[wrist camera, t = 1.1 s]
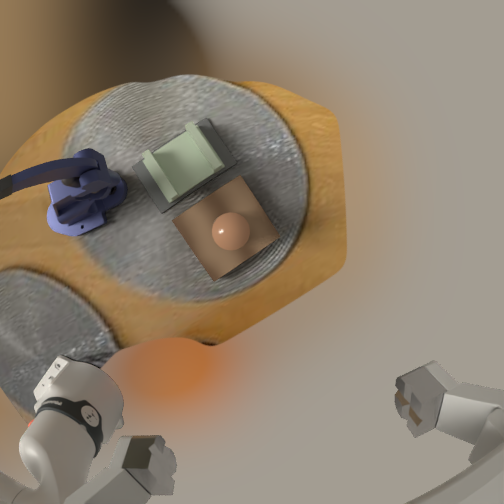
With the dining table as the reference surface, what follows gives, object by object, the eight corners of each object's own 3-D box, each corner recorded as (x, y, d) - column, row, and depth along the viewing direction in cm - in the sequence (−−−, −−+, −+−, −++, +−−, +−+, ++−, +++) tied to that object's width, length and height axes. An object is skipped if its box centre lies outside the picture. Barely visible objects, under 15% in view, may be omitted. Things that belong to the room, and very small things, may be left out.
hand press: (127, 156, 42) (35, 90, 14) (143, 206, 43) (53, 195, 15) (37, 203, 40) (-82, 200, 12) (51, 250, 41) (-67, 283, 14)
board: (213, 278, 46) (214, 281, 43) (174, 220, 44) (171, 220, 41) (276, 235, 46) (280, 236, 44) (238, 177, 44) (240, 174, 42)
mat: (161, 213, 43) (161, 213, 43) (132, 167, 42) (131, 166, 41) (237, 163, 44) (237, 162, 44) (206, 118, 43) (206, 117, 42)
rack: (170, 203, 43) (166, 201, 39) (143, 161, 42) (137, 156, 38) (224, 166, 44) (226, 162, 40) (197, 126, 42) (196, 118, 38)
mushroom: (222, 249, 43) (225, 257, 34) (205, 224, 42) (204, 226, 33) (247, 232, 43) (257, 236, 34) (230, 207, 42) (236, 205, 34)
